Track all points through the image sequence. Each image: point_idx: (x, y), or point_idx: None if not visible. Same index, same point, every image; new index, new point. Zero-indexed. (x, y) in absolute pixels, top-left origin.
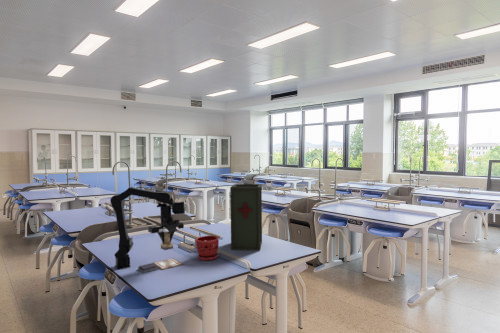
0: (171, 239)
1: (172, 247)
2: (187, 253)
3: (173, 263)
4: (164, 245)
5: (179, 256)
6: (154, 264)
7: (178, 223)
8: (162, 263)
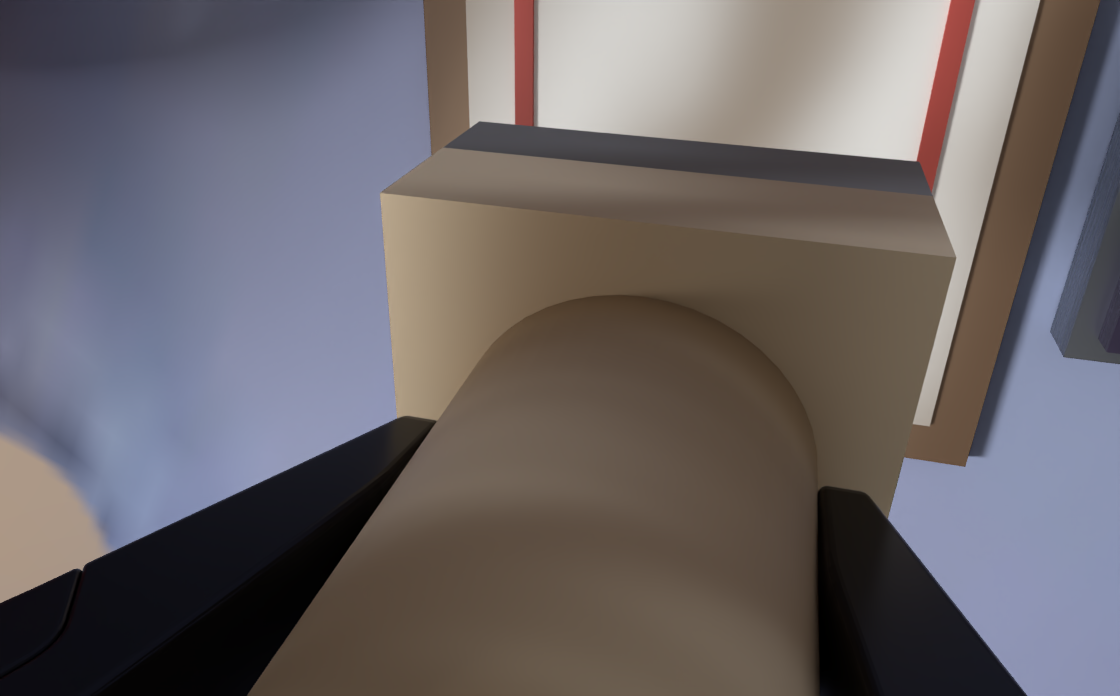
0: (306, 466)
1: (496, 140)
2: (119, 427)
3: (609, 47)
4: (949, 260)
5: (293, 403)
6: (984, 344)
7: None
8: None
